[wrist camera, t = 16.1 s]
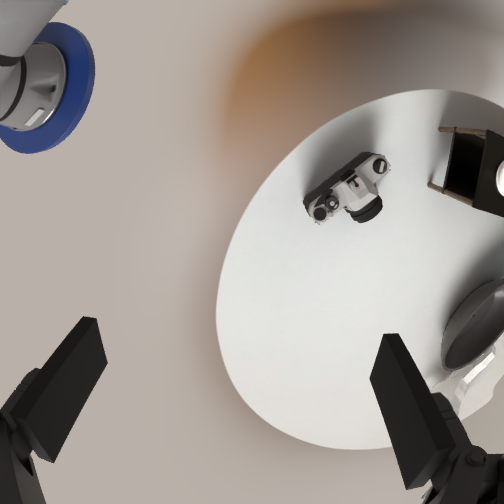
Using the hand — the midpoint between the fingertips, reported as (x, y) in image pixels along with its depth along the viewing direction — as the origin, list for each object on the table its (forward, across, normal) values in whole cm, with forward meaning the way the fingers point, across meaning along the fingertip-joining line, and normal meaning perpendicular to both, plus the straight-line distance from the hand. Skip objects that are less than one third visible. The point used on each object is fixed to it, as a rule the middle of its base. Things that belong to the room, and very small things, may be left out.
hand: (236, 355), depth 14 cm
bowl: (+35, +43, -19) cm, 59 cm away
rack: (+35, +41, +7) cm, 54 cm away
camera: (+35, +13, +2) cm, 37 cm away
